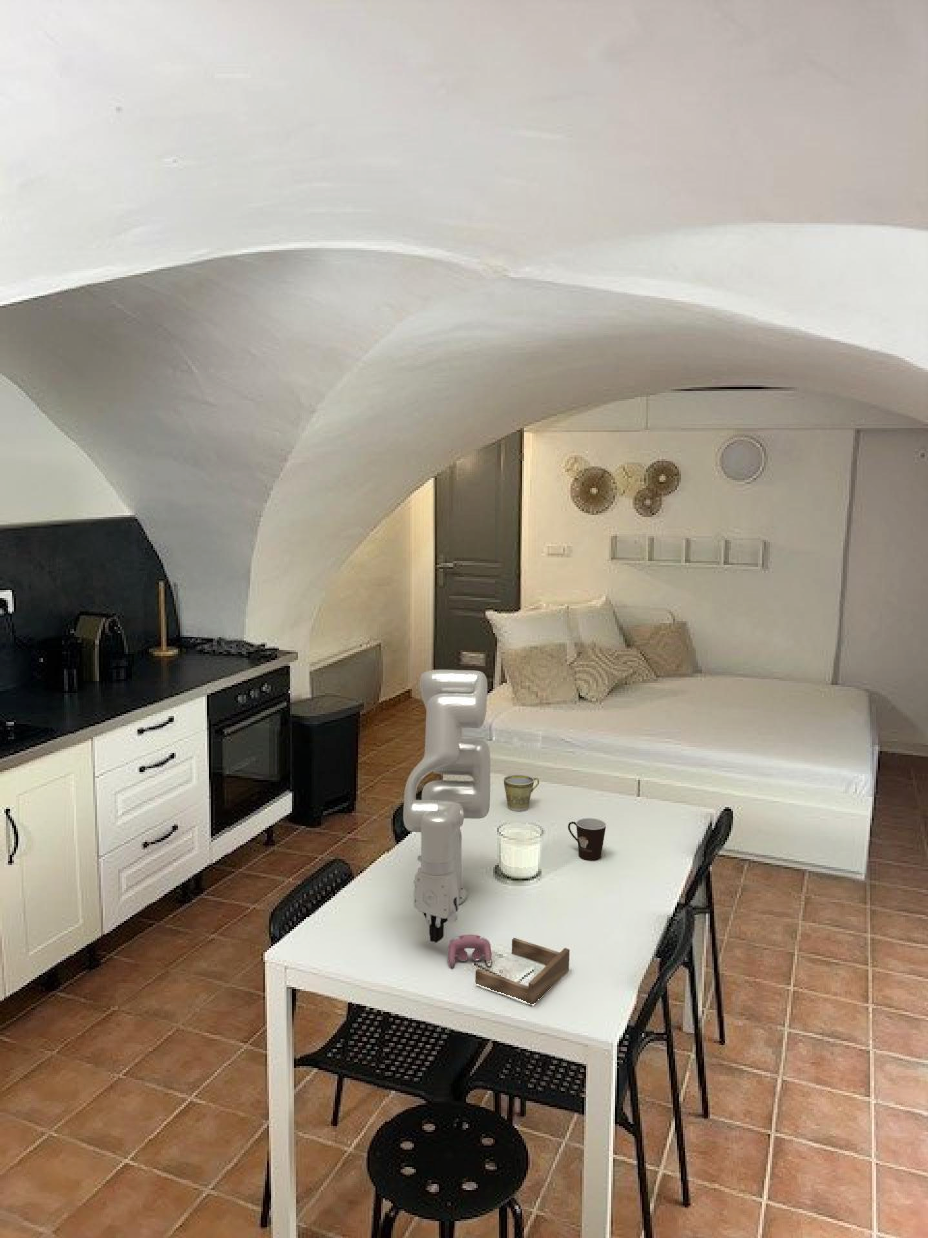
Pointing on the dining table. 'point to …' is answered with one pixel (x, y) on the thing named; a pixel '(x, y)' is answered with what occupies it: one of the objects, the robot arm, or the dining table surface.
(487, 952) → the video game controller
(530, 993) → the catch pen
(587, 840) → the coffee mug
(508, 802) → the ceramic cup
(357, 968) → the dining table surface
